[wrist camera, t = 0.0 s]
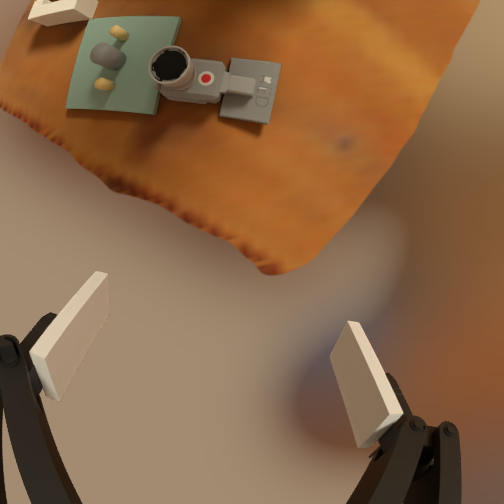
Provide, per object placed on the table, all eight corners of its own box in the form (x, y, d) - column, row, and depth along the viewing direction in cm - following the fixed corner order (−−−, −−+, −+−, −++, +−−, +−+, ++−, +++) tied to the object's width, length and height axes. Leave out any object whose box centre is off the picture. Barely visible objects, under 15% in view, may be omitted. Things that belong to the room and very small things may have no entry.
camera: (147, 26, 21) (294, 43, 23) (172, 52, 32) (279, 67, 33) (130, 102, 24) (278, 122, 26) (160, 109, 35) (267, 125, 37)
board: (93, 21, 28) (71, 9, 21) (182, 20, 30) (170, 2, 23) (70, 108, 34) (44, 108, 27) (156, 114, 35) (138, 112, 29)
